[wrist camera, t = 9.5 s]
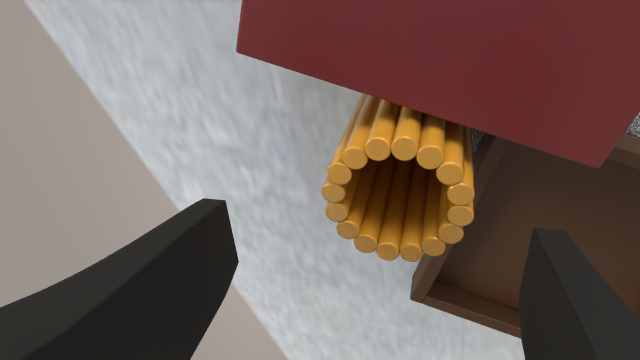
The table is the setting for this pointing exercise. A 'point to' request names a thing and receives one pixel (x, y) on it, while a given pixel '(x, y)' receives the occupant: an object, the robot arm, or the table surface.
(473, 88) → the books
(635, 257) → the tray
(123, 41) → the table surface
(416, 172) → the hollow dowel bundle
